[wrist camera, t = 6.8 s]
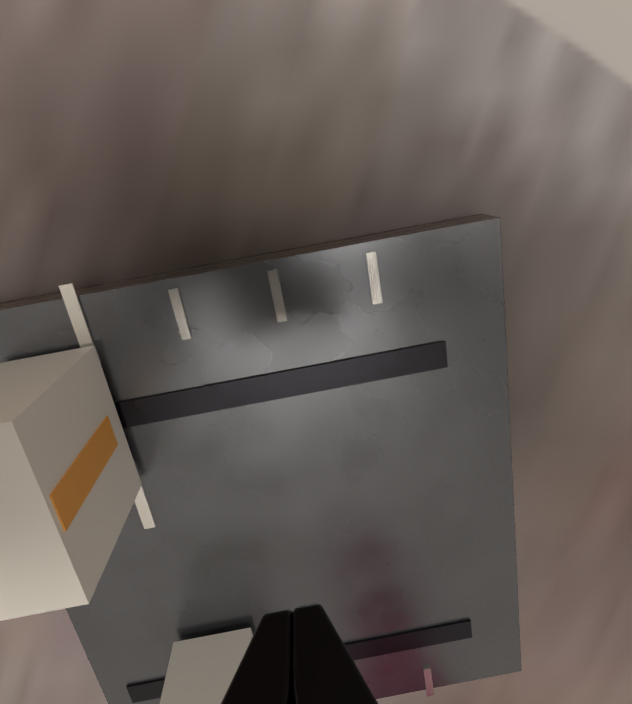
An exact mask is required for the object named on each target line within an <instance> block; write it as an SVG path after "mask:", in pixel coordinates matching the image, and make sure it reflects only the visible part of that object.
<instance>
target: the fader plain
mask: <svg viewBox="0 0 632 704" xmlns="http://www.w3.org/2000/svg"><path fill="white" fill-rule="evenodd" d="M252 637H253V633H252V630H251V627H250V628H245V629H240V630H235V631H230V632H224V633H219V634H214V635H209V636H204V637H198V638H193V639H188V640H183V641H178V642H173V646H172V651H171V655H170V660H169V664H168V669H167V673H166V677H165V682H164V686H163V691H162V695H161V700H160V704H221V702H222V700H223V698H224V696H225V694H226V692H227V690H228V688H229V685H230V683H231V681H232V679H233V677H234V675H235V673H236V671H237V669H238V667H239V664H240V662H241V660H242V658H243V656H244V654H245V652H246V650H247V648H248V646H249V643H250V641H251V639H252Z"/></svg>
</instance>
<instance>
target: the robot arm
mask: <svg viewBox="0 0 632 704" xmlns="http://www.w3.org/2000/svg"><path fill="white" fill-rule="evenodd" d="M221 704H378V703H377V701H376V699H375V697H374V696H373V694H372V692H371V690H370V689H369V687H368V685H367V683H366V682H365V680H364V678H363V676H362V675H361V673H360V671H359V669H358V668H357V666H356V664H355V662H354V661H353V659H352V657H351V655H350V654H349V652H348V650H347V648H346V647H345V645H344V643H343V641H342V640H341V638H340V636H339V634H338V633H337V631H336V629H335V627H334V626H333V624H332V622H331V620H330V619H329V617H328V615H327V613H326V612H325V610H324V608H323V606H322V605H321V604H319V603H313V604H308V605H303V606H298V607H295V609H294V610H293V612H292V610H290V609H282V610H277V611H272V612H268V613H266V614H264V615H263V617H262V618H261V620H260V623H259V625H258V627H257V629H256V631H255V633H254V635H253V637H252V639H251V641H250V643H249V646H248V648H247V650H246V652H245V654H244V656H243V658H242V660H241V662H240V664H239V667H238V669H237V671H236V673H235V675H234V677H233V679H232V681H231V683H230V685H229V688H228V690H227V692H226V694H225V696H224V698H223V700H222V702H221Z"/></svg>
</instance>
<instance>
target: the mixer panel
mask: <svg viewBox="0 0 632 704" xmlns="http://www.w3.org/2000/svg"><path fill="white" fill-rule="evenodd" d="M59 289H60V291H61V292H57V293H52V294H47V295H41V296H36V297H30V298H25V299H20V300H14V301H9V302H3V303H0V363H2V362H8V361H13V360H19V359H24V358H29V357H35V356H40V355H45V354H51V353H56V352H61V351H67V350H72V349H78V348H83V347H88V346H95V349H96V352H97V355H98V358H99V361H100V364H101V367H102V369H103V372H104V375H105V378H106V381H107V384H108V387H109V390H110V393H111V396H112V399H113V402H114V405H115V407H116V410H117V413H118V416H119V419H120V422H121V425H122V428H123V431H124V434H125V437H126V440H127V443H128V445H129V448H130V451H131V454H132V457H133V460H134V463H135V466H136V469H137V472H138V475H139V478H140V481H141V483H142V485H141V487H140V490H139V492H138V494H137V496H136V499H135V501H134V503H133V506H132V508H131V510H130V512H129V515H128V517H127V519H126V521H125V524H124V526H123V528H122V530H121V533H120V535H119V537H118V539H117V542H116V544H115V546H114V548H113V551H112V553H111V555H110V557H109V560H108V562H107V564H106V567H105V569H104V571H103V573H102V576H101V578H100V580H99V582H98V585H97V587H96V589H95V591H94V594H93V596H92V598H91V600H90V603H89V604H86V605H81V606H75V607H70V608H66V610H67V612H68V614H69V617H70V619H71V621H72V623H73V626H74V628H75V630H76V632H77V635H78V637H79V639H80V641H81V643H82V646H83V648H84V650H85V652H86V655H87V657H88V659H89V661H90V664H91V666H92V668H93V670H94V673H95V675H96V677H97V679H98V682H99V684H100V686H101V688H102V690H103V693H104V695H105V697H106V699H107V702H108V704H160V700H161V695H162V691H163V686H164V682H165V677H166V673H167V669H168V664H169V660H170V655H171V651H172V646H173V642H178V641H183V640H188V639H193V638H198V637H204V636H209V635H214V634H219V633H224V632H230V631H235V630H240V629H245V628H250V627H251V630H252V633H253V635H254V633H255V631H256V629H257V627H258V625H259V623H260V620H261V618H262V617H263V615H264V614H266V613H268V612H272V611H277V610H282V609H290V610H292V612H293V610H294V609H295V607H298V606H303V605H308V604H313V603H319V604H321V605H322V606H323V608H324V610H325V612H326V613H327V615H328V617H329V619H330V620H331V622H332V624H333V626H334V627H335V629H336V631H337V633H338V634H339V636H340V638H341V640H342V641H343V643H344V645H345V647H346V648H347V650H348V652H349V654H350V655H351V657H352V659H353V661H354V662H355V664H356V666H357V668H358V669H359V671H360V673H361V675H362V676H363V678H364V680H365V682H366V683H367V685H368V687H369V689H370V690H371V692H372V694H373V696H374V697H375V699H378V698H383V697H389V696H394V695H399V694H404V693H409V692H414V691H420V690H425V689H426V694H427V696H432V695H434V690H433V688H435V687H440V686H445V685H451V684H456V683H461V682H466V681H471V680H476V679H481V678H487V677H492V676H497V675H502V674H507V673H512V672H518V671H521V650H520V629H519V608H518V586H517V565H516V543H515V522H514V501H513V479H512V458H511V436H510V415H509V394H508V372H507V351H506V329H505V308H504V287H503V265H502V244H501V222H500V217H495V216H490V215H484V214H478V215H473V216H467V217H462V218H457V219H451V220H446V221H440V222H435V223H430V224H424V225H419V226H414V227H408V228H403V229H397V230H392V231H387V232H381V233H376V234H370V235H365V236H360V237H354V238H349V239H343V240H338V241H333V242H327V243H322V244H316V245H311V246H306V247H300V248H295V249H289V250H284V251H279V252H273V253H268V254H262V255H257V256H252V257H246V258H241V259H235V260H230V261H225V262H219V263H214V264H209V265H203V266H198V267H192V268H187V269H182V270H176V271H171V272H165V273H160V274H155V275H149V276H144V277H138V278H133V279H128V280H122V281H117V282H111V283H106V284H101V285H95V286H90V287H84V288H79V289H75V286H74V283H69V284H64V285H59Z"/></svg>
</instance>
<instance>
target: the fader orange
mask: <svg viewBox="0 0 632 704" xmlns="http://www.w3.org/2000/svg"><path fill="white" fill-rule="evenodd" d="M141 485H142V483H141V481H140V478H139V475H138V472H137V469H136V466H135V463H134V460H133V457H132V454H131V451H130V448H129V445H128V443H127V440H126V437H125V434H124V431H123V428H122V425H121V422H120V419H119V416H118V413H117V410H116V407H115V405H114V402H113V399H112V396H111V393H110V390H109V387H108V384H107V381H106V378H105V375H104V372H103V369H102V367H101V364H100V361H99V358H98V355H97V352H96V349H95V346H88V347H83V348H78V349H72V350H67V351H61V352H56V353H51V354H45V355H40V356H35V357H29V358H24V359H19V360H13V361H8V362H2V363H0V621H2V620H7V619H13V618H18V617H23V616H28V615H34V614H39V613H44V612H49V611H54V610H60V609H65V608H70V607H75V606H81V605H86V604H89V603H90V600H91V598H92V596H93V594H94V591H95V589H96V587H97V585H98V582H99V580H100V578H101V576H102V573H103V571H104V569H105V567H106V564H107V562H108V560H109V557H110V555H111V553H112V551H113V548H114V546H115V544H116V542H117V539H118V537H119V535H120V533H121V530H122V528H123V526H124V524H125V521H126V519H127V517H128V515H129V512H130V510H131V508H132V506H133V503H134V501H135V499H136V496H137V494H138V492H139V490H140V487H141Z"/></svg>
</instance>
